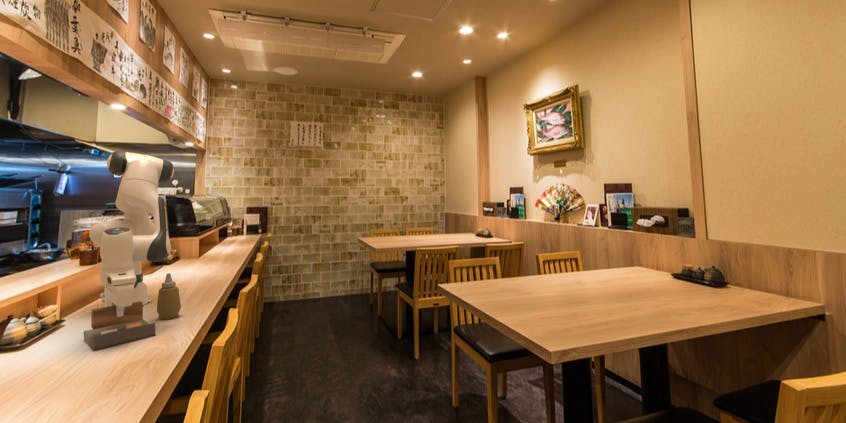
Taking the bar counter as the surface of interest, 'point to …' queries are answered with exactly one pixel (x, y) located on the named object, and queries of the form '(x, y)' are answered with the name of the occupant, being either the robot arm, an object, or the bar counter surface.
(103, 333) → the tile cream
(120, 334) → the grey tray with lip
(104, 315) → the long wooden plank
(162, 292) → the squeeze bottle
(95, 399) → the bar counter surface
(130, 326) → the tile terracotta
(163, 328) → the bar counter surface
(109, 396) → the bar counter surface
